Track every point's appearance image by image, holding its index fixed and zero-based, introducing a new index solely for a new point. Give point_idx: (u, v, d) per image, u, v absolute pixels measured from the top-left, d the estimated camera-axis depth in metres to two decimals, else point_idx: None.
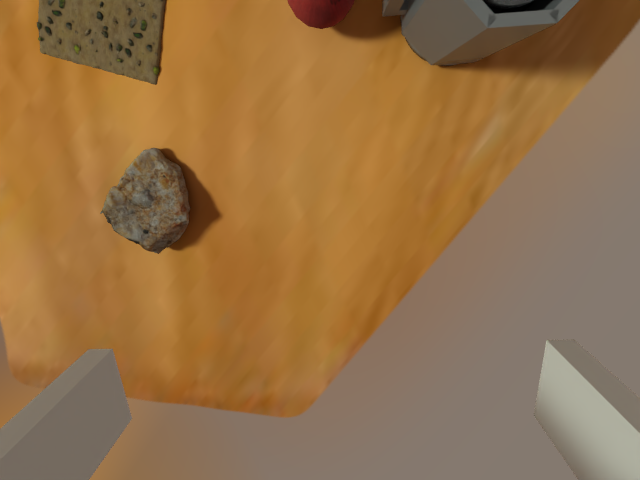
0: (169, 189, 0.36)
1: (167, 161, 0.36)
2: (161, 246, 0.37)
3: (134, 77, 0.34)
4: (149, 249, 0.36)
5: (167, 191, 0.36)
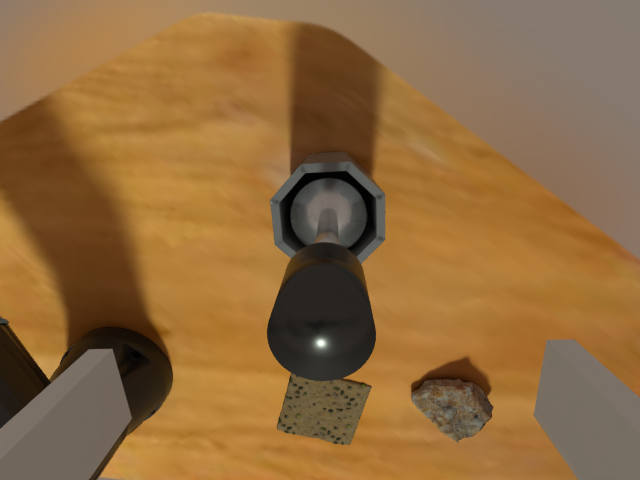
0: (444, 393, 0.48)
1: (421, 388, 0.49)
2: (488, 405, 0.48)
3: (366, 398, 0.51)
4: (490, 416, 0.47)
5: (445, 394, 0.48)
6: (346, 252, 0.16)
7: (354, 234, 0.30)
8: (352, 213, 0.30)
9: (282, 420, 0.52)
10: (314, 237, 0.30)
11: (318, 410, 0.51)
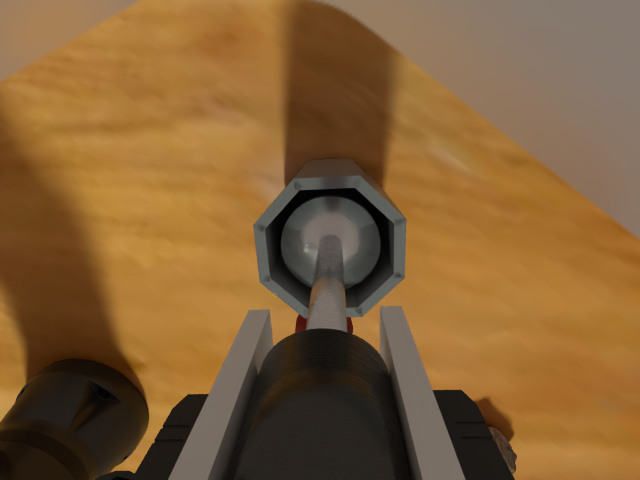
0: None
1: None
2: (511, 455, 0.41)
3: None
4: (514, 469, 0.40)
5: None
6: (362, 351, 0.09)
7: (364, 268, 0.23)
8: (361, 241, 0.23)
9: None
10: (312, 271, 0.23)
11: None
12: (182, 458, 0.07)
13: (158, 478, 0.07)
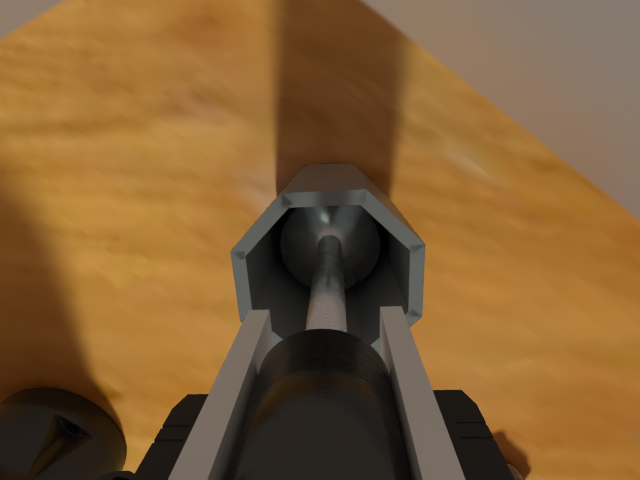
0: None
1: None
2: None
3: None
4: None
5: None
6: (361, 352, 0.09)
7: (363, 268, 0.23)
8: (361, 242, 0.23)
9: None
10: (311, 271, 0.23)
11: None
12: (182, 458, 0.07)
13: (158, 478, 0.07)
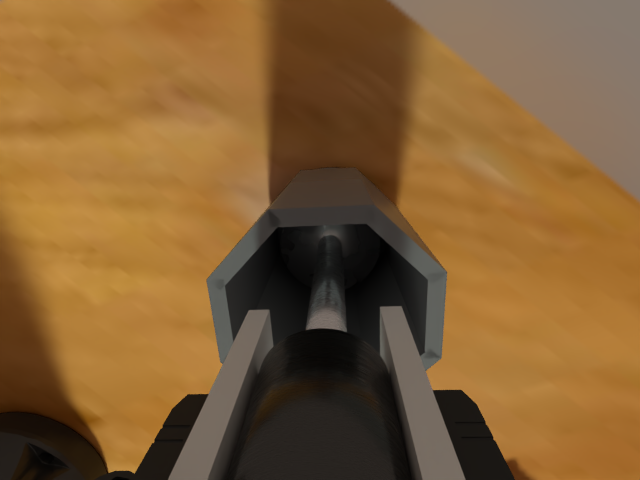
0: None
1: None
2: None
3: None
4: None
5: None
6: (362, 351, 0.09)
7: (363, 268, 0.23)
8: (361, 241, 0.23)
9: None
10: (311, 271, 0.23)
11: None
12: (182, 458, 0.07)
13: (158, 478, 0.07)
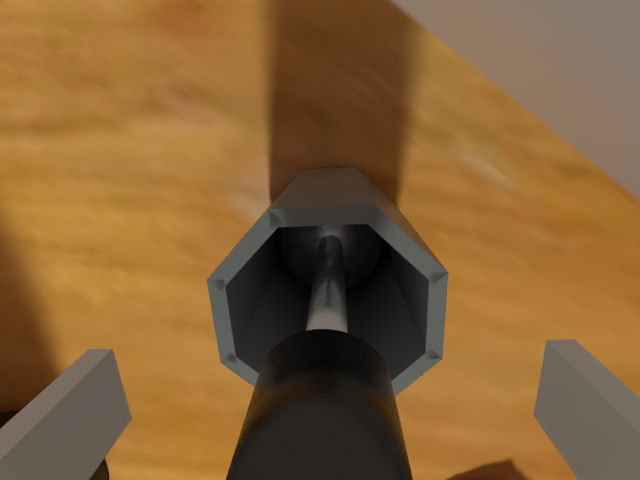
0: None
1: None
2: None
3: None
4: None
5: None
6: (363, 352, 0.09)
7: (364, 268, 0.23)
8: (362, 242, 0.23)
9: None
10: (312, 271, 0.23)
11: None
12: None
13: None
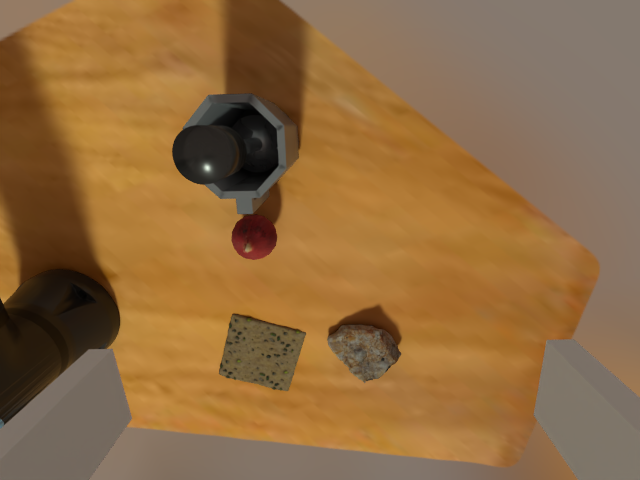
0: (356, 336, 0.51)
1: (337, 332, 0.52)
2: (395, 351, 0.51)
3: (301, 344, 0.54)
4: (396, 360, 0.50)
5: (357, 338, 0.51)
6: (232, 130, 0.27)
7: (275, 158, 0.41)
8: (273, 142, 0.41)
9: (223, 365, 0.56)
10: (246, 160, 0.42)
11: (256, 356, 0.55)
12: None
13: None
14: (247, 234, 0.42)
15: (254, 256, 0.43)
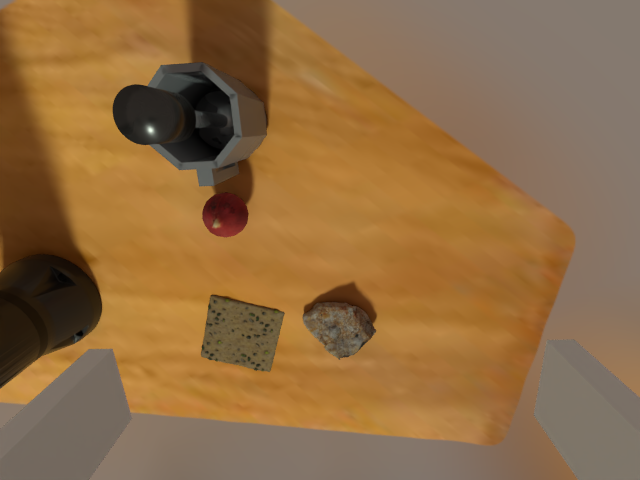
0: (330, 313, 0.51)
1: (312, 310, 0.52)
2: (370, 328, 0.51)
3: (281, 324, 0.55)
4: (369, 336, 0.51)
5: (331, 315, 0.51)
6: (179, 95, 0.28)
7: None
8: None
9: (205, 347, 0.56)
10: (212, 136, 0.42)
11: (237, 337, 0.55)
12: None
13: None
14: (216, 211, 0.42)
15: (224, 233, 0.44)
